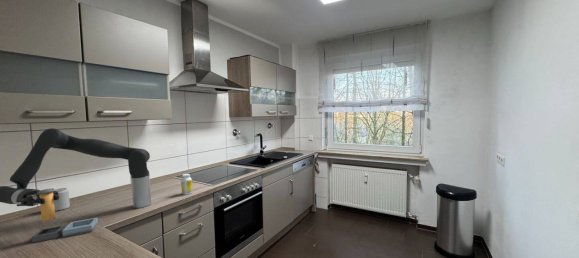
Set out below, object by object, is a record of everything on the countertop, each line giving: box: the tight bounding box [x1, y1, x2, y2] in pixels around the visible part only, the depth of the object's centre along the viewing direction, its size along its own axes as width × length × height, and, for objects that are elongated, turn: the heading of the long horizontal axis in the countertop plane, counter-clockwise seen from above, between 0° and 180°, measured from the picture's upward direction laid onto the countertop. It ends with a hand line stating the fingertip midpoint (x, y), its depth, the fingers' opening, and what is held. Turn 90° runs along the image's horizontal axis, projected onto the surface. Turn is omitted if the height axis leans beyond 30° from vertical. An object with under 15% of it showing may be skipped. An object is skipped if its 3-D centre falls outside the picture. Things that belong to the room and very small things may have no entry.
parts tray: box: [62, 217, 99, 238], centre depth 110 cm, size 10×10×3 cm
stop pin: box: [37, 188, 56, 222], centre depth 105 cm, size 5×5×13 cm
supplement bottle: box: [180, 173, 193, 196], centre depth 160 cm, size 7×7×13 cm
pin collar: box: [31, 224, 66, 243], centre depth 105 cm, size 8×8×2 cm
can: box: [54, 187, 71, 212], centre depth 140 cm, size 8×8×12 cm
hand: (50, 199), depth 104 cm, fingers closed on stop pin, 4 cm apart
